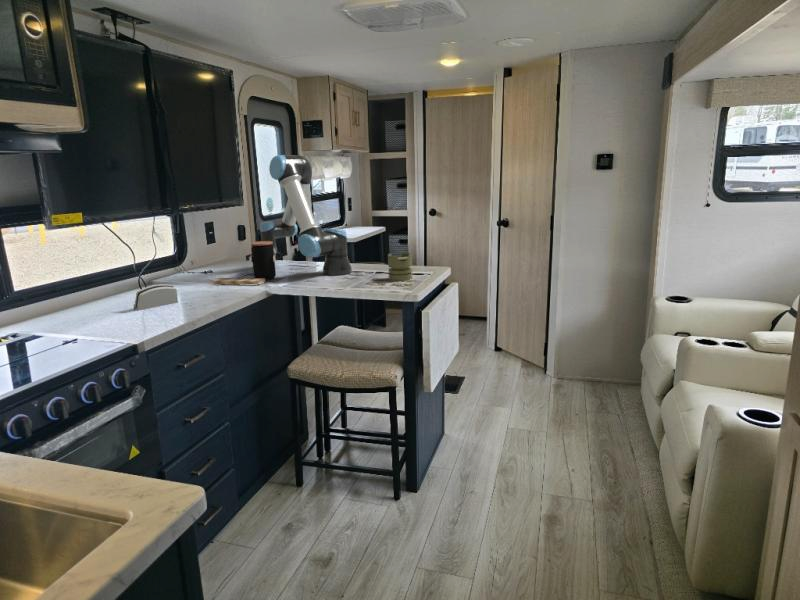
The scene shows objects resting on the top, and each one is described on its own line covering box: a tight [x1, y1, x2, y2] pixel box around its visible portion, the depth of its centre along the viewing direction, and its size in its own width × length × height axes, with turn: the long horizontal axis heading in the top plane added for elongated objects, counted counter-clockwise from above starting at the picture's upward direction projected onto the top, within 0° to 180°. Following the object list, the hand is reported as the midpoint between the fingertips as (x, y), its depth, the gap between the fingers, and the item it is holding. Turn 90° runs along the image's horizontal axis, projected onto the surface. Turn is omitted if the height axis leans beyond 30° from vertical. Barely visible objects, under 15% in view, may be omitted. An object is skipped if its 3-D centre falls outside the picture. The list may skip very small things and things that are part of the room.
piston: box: [387, 252, 413, 282], centre depth 254 cm, size 11×12×11 cm
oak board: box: [212, 277, 266, 286], centre depth 257 cm, size 24×7×2 cm, turn 77°
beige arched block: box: [133, 284, 179, 312], centre depth 216 cm, size 17×5×10 cm, turn 138°
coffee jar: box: [250, 240, 277, 281], centre depth 262 cm, size 11×11×18 cm
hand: (262, 259), depth 258 cm, fingers closed on coffee jar, 11 cm apart
